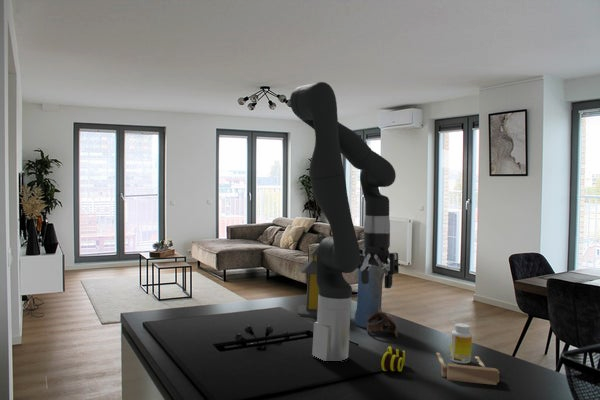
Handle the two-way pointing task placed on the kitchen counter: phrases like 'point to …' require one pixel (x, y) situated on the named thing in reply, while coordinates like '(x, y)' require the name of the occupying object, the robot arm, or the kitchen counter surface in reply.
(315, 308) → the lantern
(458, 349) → the supplement bottle
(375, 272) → the bottle
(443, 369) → the bay
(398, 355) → the opera glasses
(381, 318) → the brown jagged curved piece
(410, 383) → the kitchen counter surface
